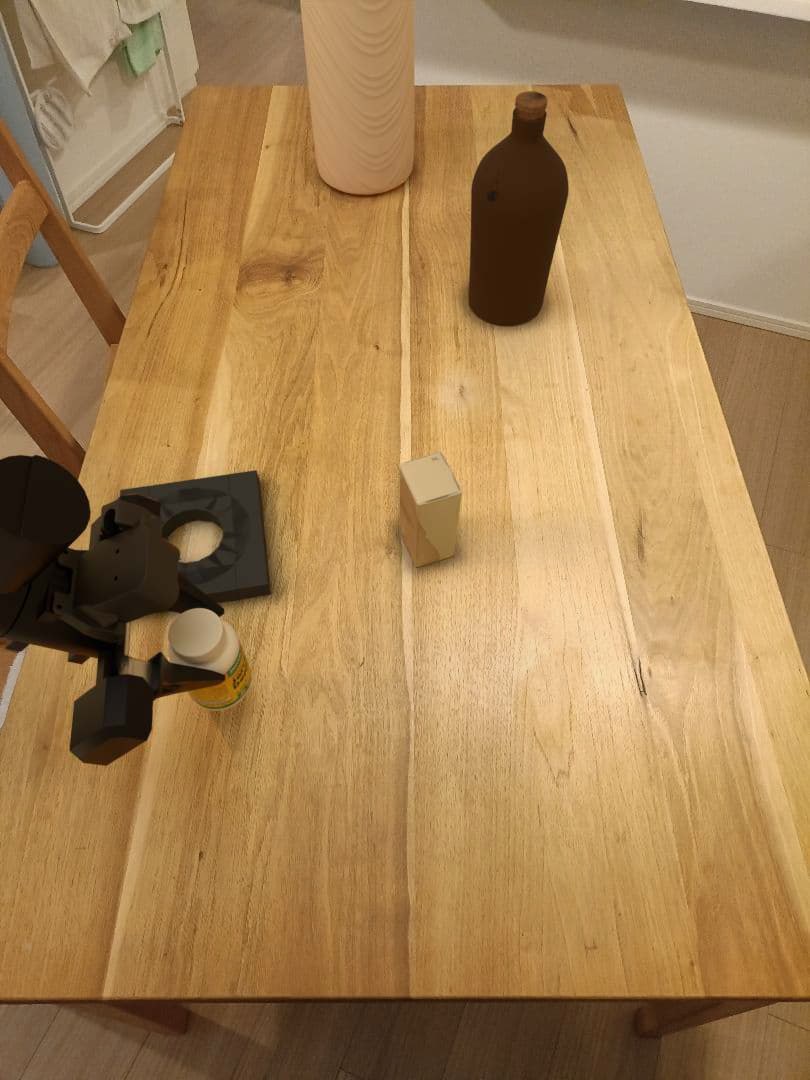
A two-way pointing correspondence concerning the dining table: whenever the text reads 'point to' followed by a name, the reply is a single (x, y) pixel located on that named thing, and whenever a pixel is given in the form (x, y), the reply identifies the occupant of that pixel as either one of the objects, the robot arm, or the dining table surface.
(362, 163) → the vase
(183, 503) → the socket pad
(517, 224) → the olive oil
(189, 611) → the supplement bottle
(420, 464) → the box
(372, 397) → the dining table surface
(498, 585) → the dining table surface
